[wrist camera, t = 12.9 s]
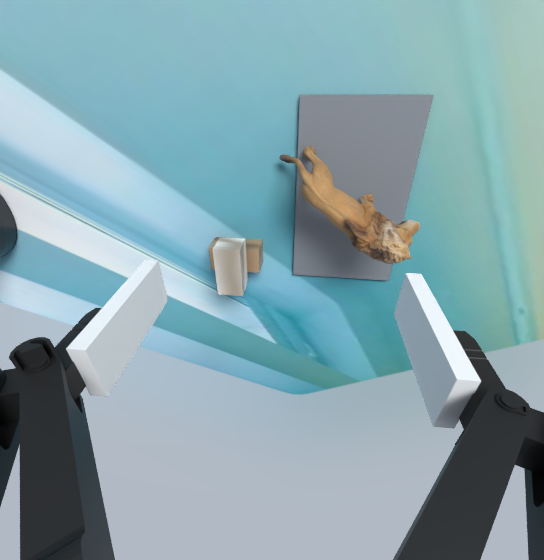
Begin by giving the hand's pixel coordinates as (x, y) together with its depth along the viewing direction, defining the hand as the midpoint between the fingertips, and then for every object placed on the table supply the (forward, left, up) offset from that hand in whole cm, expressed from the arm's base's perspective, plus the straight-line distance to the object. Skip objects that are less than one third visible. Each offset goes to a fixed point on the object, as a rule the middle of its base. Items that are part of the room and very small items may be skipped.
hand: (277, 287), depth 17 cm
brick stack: (-7, -9, -21) cm, 24 cm away
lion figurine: (+5, -1, -20) cm, 21 cm away
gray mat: (+6, -2, -21) cm, 22 cm away
